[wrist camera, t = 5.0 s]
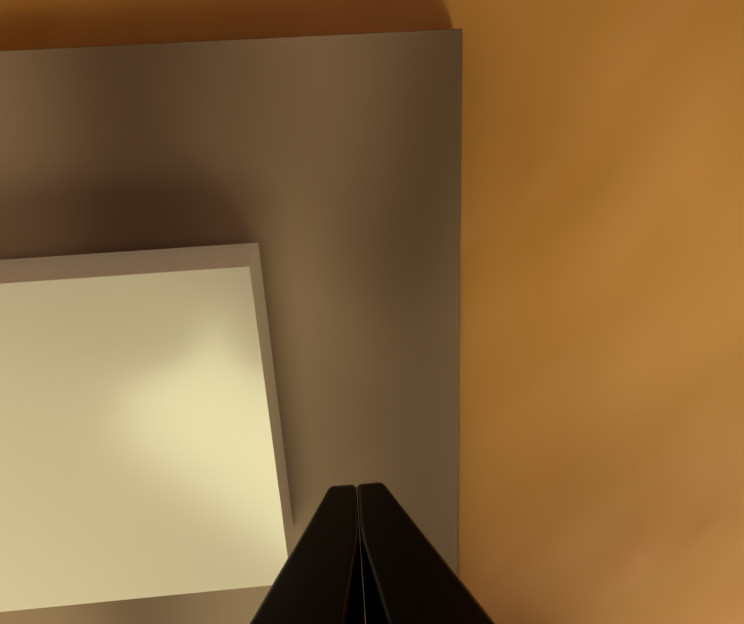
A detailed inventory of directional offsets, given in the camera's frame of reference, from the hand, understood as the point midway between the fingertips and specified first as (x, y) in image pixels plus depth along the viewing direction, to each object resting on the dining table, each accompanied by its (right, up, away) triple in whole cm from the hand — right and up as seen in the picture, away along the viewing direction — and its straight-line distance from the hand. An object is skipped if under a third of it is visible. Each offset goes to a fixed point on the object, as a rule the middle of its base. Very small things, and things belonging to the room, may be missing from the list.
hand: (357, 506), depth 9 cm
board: (-5, +1, +4) cm, 6 cm away
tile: (-2, +1, +3) cm, 3 cm away
